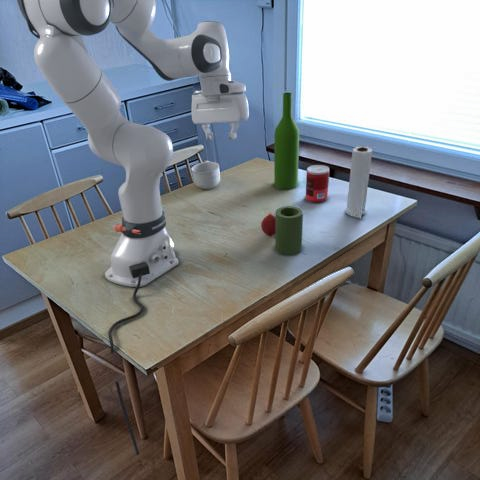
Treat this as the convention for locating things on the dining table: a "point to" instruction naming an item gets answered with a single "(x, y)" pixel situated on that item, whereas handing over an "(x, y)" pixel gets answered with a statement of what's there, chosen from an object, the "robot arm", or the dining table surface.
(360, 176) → the paper towel roll
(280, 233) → the green cylindrical vase
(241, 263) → the dining table surface
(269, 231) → the onion
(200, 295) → the dining table surface
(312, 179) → the canned food
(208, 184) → the teacup
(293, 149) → the wine bottle
